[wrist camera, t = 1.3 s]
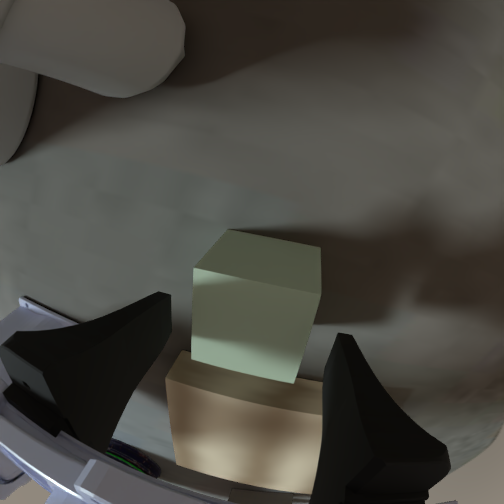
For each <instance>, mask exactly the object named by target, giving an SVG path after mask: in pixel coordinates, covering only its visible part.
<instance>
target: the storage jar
mask: <svg viewBox="0 0 504 504" xmlns="http://www.w3.org/2000/svg"><path fill="white" fill-rule="evenodd" d="M105 456H107V457H109V458H111V459H113V460H115V461H117V462H120V463H122V464H124V465H126V466H128V467H130V468H133V469H135V470H137V471H139V472H142V473H144V474H146V475H149V476H151V477H154V478H156V479H157V477H159V476H160V474H161V469H160V468H159V466H158V465H157V464H156V463H155V462H154V461H153V460H151V459H150V458H149V457H148V456H146V455H145V454H143V453H142V452H140V451H138V450H137V449H135V448H133V447H131V446H130V445H128V444H126V443H123V442H121V441H119V440H116V439H113V438H111V441H110V443H109V446H108V449H107V451H106V454H105Z"/></svg>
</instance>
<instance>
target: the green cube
mask: <svg viewBox="0 0 504 504" xmlns="http://www.w3.org/2000/svg"><path fill="white" fill-rule="evenodd" d="M320 298H321V248H320V247H315V246H311V245H306V244H301V243H296V242H291V241H286V240H281V239H276V238H271V237H265V236H260V235H255V234H250V233H245V232H240V231H234V230H229V229H228V230H227V231H226V232H225V233H224V234H223V235H222V236H221V237H220V239H219V240H218V241H217V242H216V243H215V244H214V245H213V246H212V248H211V249H210V250H209V251H208V252H207V253H206V254H205V255H204V257H203V258H202V259H201V260H200V261H199V262H198V263H197V265H196V266H195V267H194V275H193V300H192V340H191V359H193V360H196V361H200V362H203V363H207V364H210V365H214V366H218V367H221V368H225V369H229V370H233V371H237V372H241V373H246V374H250V375H254V376H259V377H263V378H268V379H272V380H277V381H282V382H287V383H293V384H294V381H295V378H296V376H297V373H298V370H299V367H300V364H301V360H302V357H303V354H304V351H305V348H306V345H307V342H308V339H309V335H310V332H311V329H312V325H313V322H314V319H315V315H316V312H317V308H318V305H319V301H320Z"/></svg>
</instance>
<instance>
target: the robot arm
mask: <svg viewBox="0 0 504 504" xmlns="http://www.w3.org/2000/svg"><path fill="white" fill-rule="evenodd" d="M19 303H20V307H18V308H17V309H16V310H14V311H13V312H12V313H10V314H9V315H8V316H6V317H5V318H4V319H3V320H1V321H0V499H1V500H5V499H6V498H7V497H9V496H10V495H11V494H12V493H13V492H14V491H15V490H16V489H18V488H19V487H21V486H23V485H25V484H27V483H28V482H29V481H31V480H32V479H33V480H34V481H35V482H37V483H38V484H39V485H41V486H42V487H43V488H44V489H46V490H48V491H49V492H50V493H51V495H50V496H49V498H48V499H47V501H46V502H45V504H238V503H233V502H229V501H225V500H221V499H217V498H213V497H210V496H206V495H203V494H200V493H196V492H193V491H190V490H187V489H184V488H181V487H178V486H175V485H172V484H170V483H167V482H164V481H161V480H159V479H156V478H154V477H151V476H149V475H146V474H144V473H142V472H139V471H137V470H135V469H133V468H130V467H128V466H126V465H124V464H122V463H120V462H117V461H115V460H113V459H111V458H109V457H107V456H105V454H106V451H107V449H108V446H109V443H110V441H111V438H112V436H113V433H114V431H115V429H116V426H117V424H118V422H119V420H120V417H121V415H122V413H123V411H124V409H125V407H126V405H127V403H128V401H129V399H130V397H131V395H132V394H133V392H134V390H135V388H136V387H137V385H138V384H139V382H140V381H141V379H142V378H143V376H144V375H145V374H146V372H147V371H148V369H149V368H150V367H151V365H152V364H153V362H154V361H155V360H156V358H157V357H158V355H159V354H160V352H161V351H162V349H163V348H164V346H165V344H166V342H167V340H168V338H169V336H170V334H171V332H172V322H171V295H170V294H166V293H162V292H156V293H154V294H152V295H149V296H147V297H145V298H143V299H141V300H139V301H137V302H135V303H133V304H131V305H128V306H126V307H124V308H122V309H120V310H117V311H115V312H112V313H110V314H108V315H105V316H103V317H100V318H97V319H94V320H91V321H88V322H85V323H81V324H78V323H76V322H74V321H72V320H69V319H67V318H65V317H63V316H61V315H58V314H56V313H54V312H52V311H50V310H48V309H46V308H44V307H42V306H40V305H38V304H36V303H34V302H32V301H30V300H28V299H26V298H24V297H22V296H21V297H20V298H19ZM450 469H451V465H450V459H449V454H448V450H447V447H446V445H445V444H443V443H442V442H440V441H439V440H437V439H436V438H434V437H433V436H431V435H430V434H429V433H427V432H426V431H425V430H424V429H422V428H421V427H420V426H419V425H417V424H416V423H415V422H414V421H413V420H412V419H411V418H410V417H409V416H408V415H407V414H406V413H405V412H404V411H403V410H402V409H401V408H400V407H399V406H398V405H397V404H396V403H395V401H394V400H393V399H392V398H391V397H390V395H389V394H388V393H387V392H386V390H385V389H384V388H383V386H382V385H381V383H380V382H379V380H378V379H377V378H376V376H375V375H374V373H373V371H372V370H371V368H370V366H369V365H368V363H367V361H366V359H365V358H364V356H363V354H362V352H361V350H360V349H359V347H358V345H357V343H356V341H355V339H354V338H353V336H352V335H349V334H344V333H338V334H337V337H336V340H335V342H334V345H333V348H332V350H331V353H330V355H329V358H328V361H327V363H326V366H325V369H324V378H323V386H322V440H321V447H320V454H319V460H318V466H317V471H316V476H315V481H314V486H313V490H312V495H311V499H310V502H309V504H425V500H427V499H428V498H429V493H428V490H429V489H430V488H432V487H433V486H434V485H435V484H437V483H438V482H439V481H441V480H442V479H443V478H444V477H445V476H446V475H447V474H448V472H449V471H450ZM438 504H458V503H457V501H456V500H455V501H449V502H444V503H438Z"/></svg>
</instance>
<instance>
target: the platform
mask: <svg viewBox="0 0 504 504" xmlns="http://www.w3.org/2000/svg"><path fill="white" fill-rule="evenodd" d="M292 499H293V493H275V492H261V491H250V490H241V489H233V488H232V490H231V493H230V496H229V499H228V501H229V502H233V503H238V504H292Z"/></svg>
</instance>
